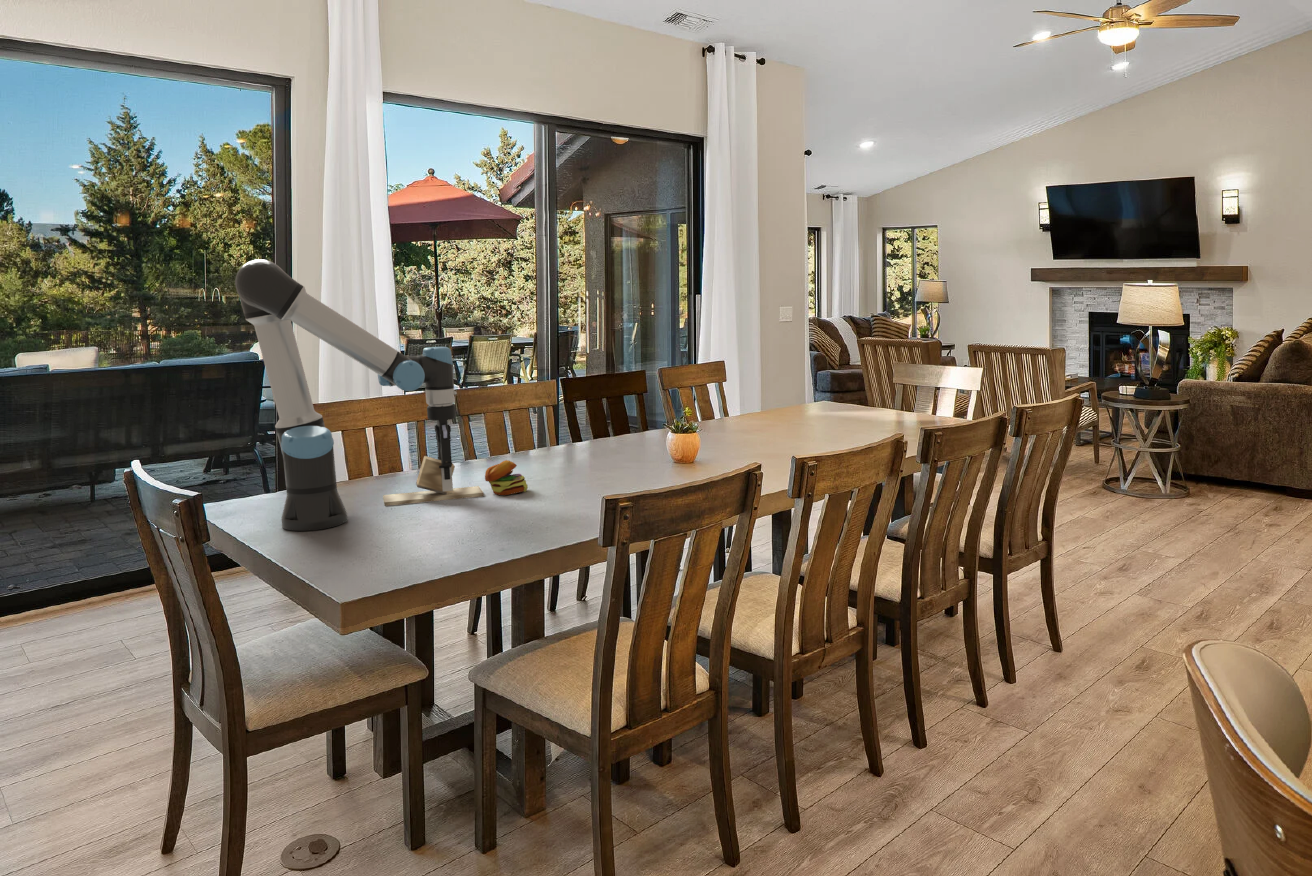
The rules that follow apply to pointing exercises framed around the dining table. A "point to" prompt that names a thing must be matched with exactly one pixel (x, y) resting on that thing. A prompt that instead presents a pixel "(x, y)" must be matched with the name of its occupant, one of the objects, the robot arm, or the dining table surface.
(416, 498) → the board
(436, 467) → the block
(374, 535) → the dining table surface
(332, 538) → the dining table surface
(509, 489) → the cheeseburger
